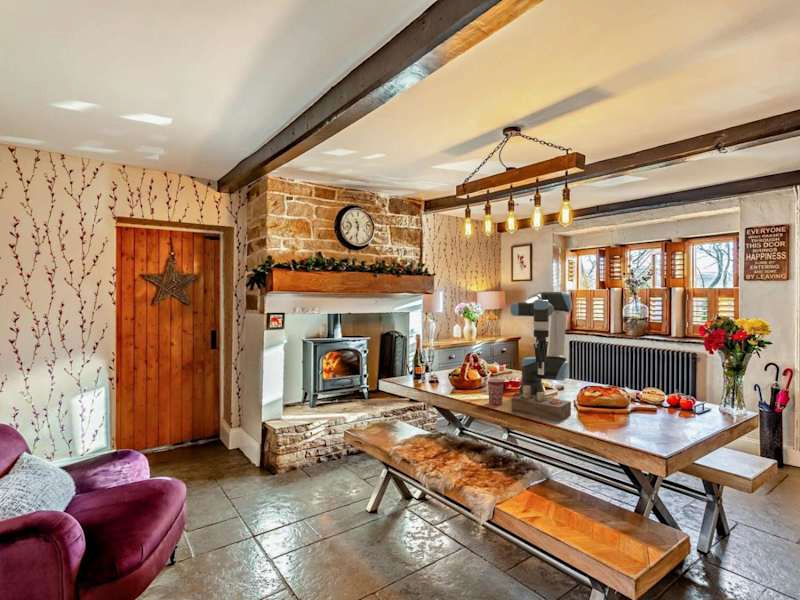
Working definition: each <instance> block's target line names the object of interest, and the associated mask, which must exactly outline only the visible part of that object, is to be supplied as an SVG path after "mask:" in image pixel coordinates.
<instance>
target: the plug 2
mask: <svg viewBox="0 0 800 600" xmlns="http://www.w3.org/2000/svg"><path fill="white" fill-rule="evenodd" d="M551 398H552V403H553V404H560V400H561V398H560V397H551Z"/></svg>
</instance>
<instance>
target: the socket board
mask: <svg viewBox="0 0 800 600" xmlns="http://www.w3.org/2000/svg"><path fill="white" fill-rule="evenodd" d="M552 398H553V397H546V396H545V401H544V402H542V401H537V396H535V395H530V399H525V398H523V394H522V395H519V394H518V395H517V396H515V397H512V398H511V412H512V411H513V413H516V414H517V413H518V414H521V415H527V416H532V417H537V418H542V419H548V420H551V421H555V422H556V421H557V422H561V421H563V420H564V419H566V418H569V417H571V414H572V409H571V408H572V402H571V401H570V400H569V401H568V400H564V399H560V404H553V403H552Z"/></svg>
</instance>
